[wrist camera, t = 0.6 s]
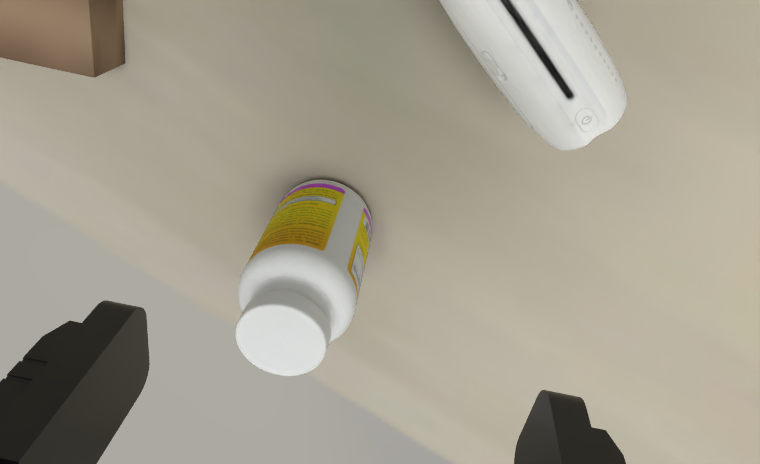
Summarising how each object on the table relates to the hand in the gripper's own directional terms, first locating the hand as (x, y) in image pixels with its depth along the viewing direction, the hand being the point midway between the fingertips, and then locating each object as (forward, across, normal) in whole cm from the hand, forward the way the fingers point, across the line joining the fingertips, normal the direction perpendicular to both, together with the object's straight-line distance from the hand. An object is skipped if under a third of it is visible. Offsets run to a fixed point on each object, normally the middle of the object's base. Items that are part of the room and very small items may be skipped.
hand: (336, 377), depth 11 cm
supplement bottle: (+26, +4, +12) cm, 28 cm away
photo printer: (+26, -5, -4) cm, 27 cm away
